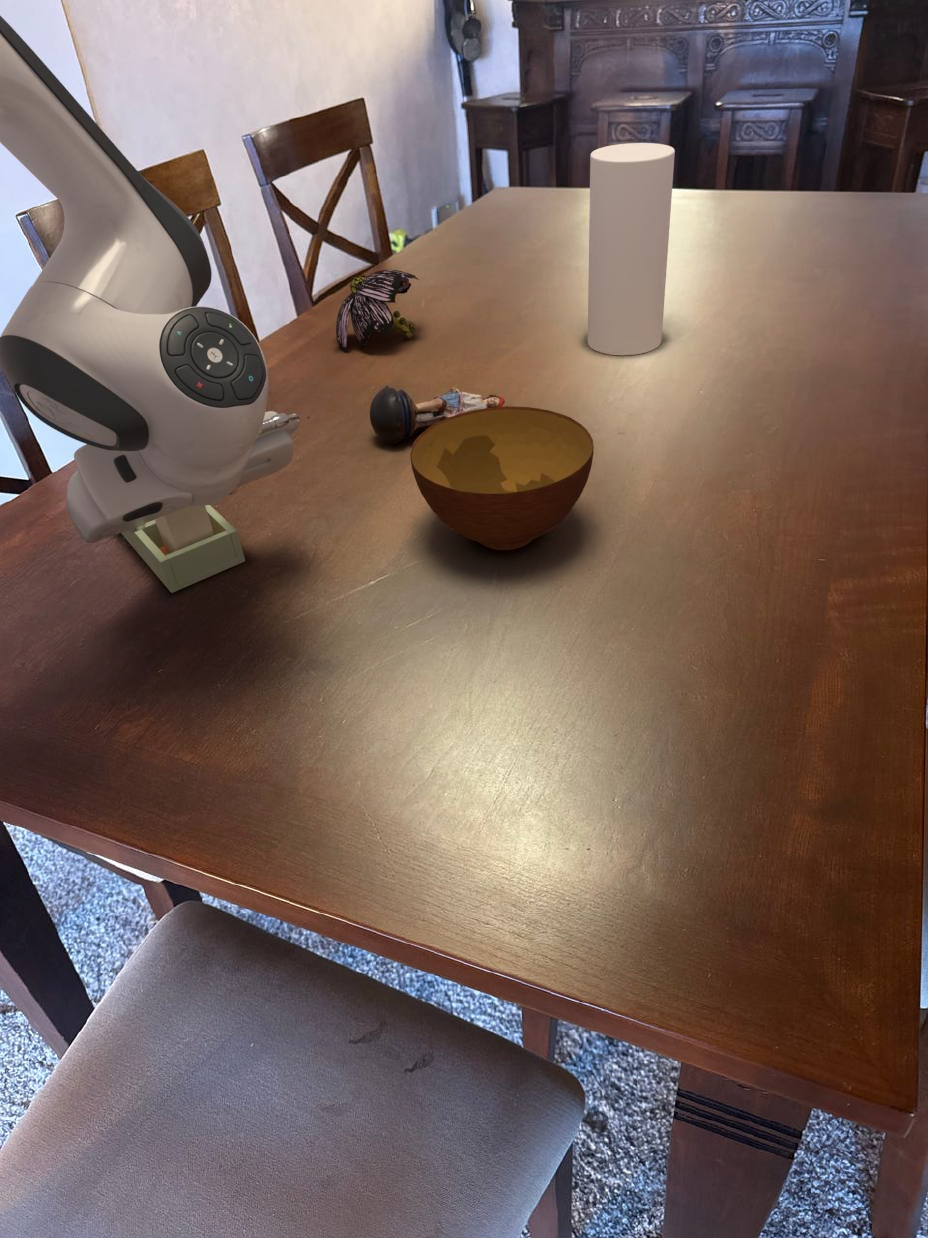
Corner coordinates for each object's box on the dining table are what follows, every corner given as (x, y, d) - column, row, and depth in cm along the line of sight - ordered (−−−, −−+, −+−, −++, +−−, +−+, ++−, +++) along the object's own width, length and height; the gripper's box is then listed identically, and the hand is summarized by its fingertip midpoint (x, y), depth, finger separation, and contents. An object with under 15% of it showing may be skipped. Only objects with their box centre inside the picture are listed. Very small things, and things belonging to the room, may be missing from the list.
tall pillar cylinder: (573, 345, 127) (573, 156, 111) (614, 322, 133) (621, 139, 117) (634, 361, 121) (644, 163, 105) (675, 336, 127) (690, 145, 111)
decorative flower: (350, 258, 136) (419, 238, 126) (388, 321, 143) (456, 307, 133) (299, 313, 129) (369, 297, 120) (342, 376, 136) (410, 366, 127)
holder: (171, 593, 85) (160, 562, 83) (119, 531, 95) (107, 501, 93) (245, 561, 89) (236, 530, 87) (187, 504, 99) (178, 475, 97)
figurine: (363, 374, 105) (501, 362, 110) (361, 419, 110) (494, 405, 115) (378, 412, 100) (522, 398, 105) (376, 457, 105) (513, 441, 110)
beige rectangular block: (183, 569, 87) (157, 492, 81) (165, 549, 90) (138, 473, 84) (220, 554, 88) (196, 477, 83) (200, 534, 92) (176, 459, 86)
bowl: (586, 588, 81) (587, 496, 75) (404, 580, 84) (391, 491, 78) (596, 491, 94) (598, 406, 88) (438, 487, 98) (430, 405, 91)
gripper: (286, 378, 76) (261, 441, 88) (52, 457, 67) (61, 515, 79) (320, 441, 76) (290, 495, 88) (90, 528, 67) (93, 575, 79)
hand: (179, 505), depth 84 cm, fingers open, 8 cm apart
